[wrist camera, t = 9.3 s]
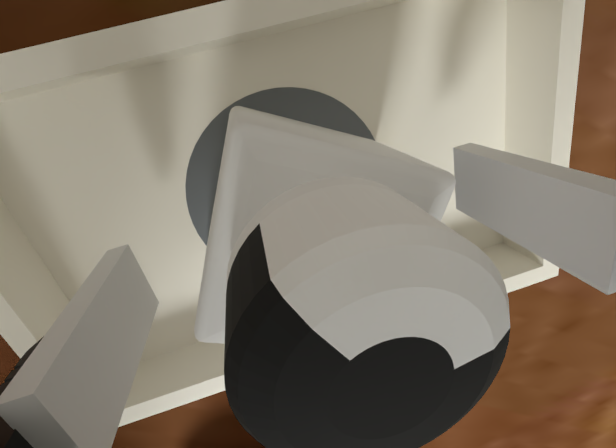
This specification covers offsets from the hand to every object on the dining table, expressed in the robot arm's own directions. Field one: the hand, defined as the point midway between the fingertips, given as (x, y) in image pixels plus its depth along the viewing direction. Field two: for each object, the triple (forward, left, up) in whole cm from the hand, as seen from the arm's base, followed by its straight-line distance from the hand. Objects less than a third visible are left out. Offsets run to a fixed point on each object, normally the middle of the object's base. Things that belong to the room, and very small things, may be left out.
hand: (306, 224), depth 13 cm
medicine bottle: (0, 0, -4) cm, 4 cm away
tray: (0, 0, -5) cm, 5 cm away
